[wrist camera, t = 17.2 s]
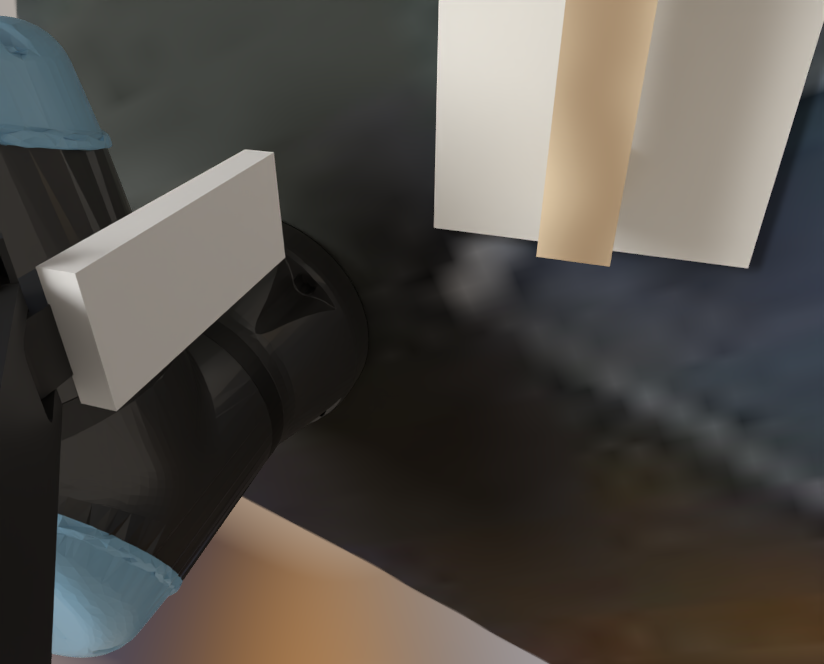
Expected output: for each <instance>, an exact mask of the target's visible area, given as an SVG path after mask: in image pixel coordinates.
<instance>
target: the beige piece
mask: <svg viewBox="0 0 824 664" xmlns="http://www.w3.org/2000/svg"><path fill="white" fill-rule="evenodd" d="M657 3H658V0H566V2H565V11H564V19H563V28H562V37H561V46H560V54H559V63H558V72H557V81H556V89H555V98H554V107H553V115H552V124H551V133H550V142H549V150H548V159H547V168H546V177H545V185H544V194H543V203H542V212H541V220H540V229H539V238H538V246H537V255H536V257H543V258H550V259H557V260H565V261H572V262H580V263H587V264H594V265H602V266H609V267H610V262H611V256H612V251H613V245H614V240H615V234H616V229H617V223H618V218H619V212H620V207H621V201H622V196H623V190H624V185H625V179H626V174H627V168H628V163H629V157H630V152H631V146H632V141H633V135H634V130H635V124H636V119H637V113H638V108H639V102H640V97H641V91H642V86H643V80H644V75H645V69H646V64H647V58H648V53H649V47H650V42H651V36H652V31H653V25H654V20H655V14H656V9H657Z"/></svg>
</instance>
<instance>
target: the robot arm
mask: <svg viewBox="0 0 824 664" xmlns="http://www.w3.org/2000/svg"><path fill="white" fill-rule="evenodd" d="M110 147H112V142H111V140H110V137H109V135H108V134H107V133H106V132H105V131H103V130H101V129H100V126H99V124H98V122H97V120H96V117H95V115H94V113H93V111H92V108H91V106H90V104H89V101H88V99H87V97H86V95H85V92H84V90H83V88H82V86H81V83H80V81H79V79H78V76H77V74H76V72H75V70H74V67H73V65H72V63H71V61H70V59H69V57H68V55H67V54H66V52H65V51H64V49H63V48H62V47H61V45H60V44H59V43H58V42H57V41H56V40H55V39H54V38H53V37H52V36H51V35H50V34H48V33H47V32H46V31H44V30H43V29H41V28H40V27H38V26H36V25H34V24H32V23H29V22H27V21H24V20H21V19H18V18H13V17H7V16H0V664H51V657H52V654H57V655H62V656H68V657H95V656H100V655H105V654H107V653H110V652H112V651H115V650H117V649H119V648H121V647H122V646H124V645H125V644H126V643H127V642H130V641H131V640H132V639H133V638H134V637H135V636H136V635H137V634H138V632H140V630H141V629H142V628H143V627H144V625H145V624H146V623H147V622H148V620H149V619H150V618H151V617H152V616H153V614H154V613H155V612H156V611H157V609H158V608H159V607H160V605H161V604H162V603H163V602H164V601H165V600H166V598H167V597H168V596H170V595H172V594H174V593H175V592H177V591H178V590H179V588H180V586H181V584H182V581H183V579H184V578H185V577H186V575H187V574H188V572H189V571H190V569H191V568H192V567H193V565H194V564H195V562H196V561H197V560H198V558H199V556H200V555H201V553H202V552H203V551H204V549H205V548H206V547H207V545H208V544H209V542H210V541H211V539H212V538H213V537H214V535H215V534H216V532H217V531H218V529H219V528H220V527H221V525H222V524H223V522H224V521H225V519H226V518H227V517H228V515H229V514H230V512H231V511H232V509H233V508H234V507H235V505H236V504H237V502H238V501H239V499H240V498H241V497H242V495H243V494H244V492H245V491H246V489H247V488H248V487H249V485H250V484H251V482H252V481H253V479H254V478H255V477H256V475H257V474H258V472H259V471H260V469H261V468H262V466H263V465H264V463H265V462H266V461H267V459H268V458H269V457H270V455H271V454H272V453H273V451H274V450H275V448H276V447H277V446H278V444H280V443H281V442H283V441H284V440H286V439H287V438H289V437H290V436H291V435H293V434H294V433H296V432H297V431H299V430H300V429H302V428H303V427H305V426H306V425H308V424H310V423H312V422H315V421H317V420H319V419H320V418H322V417H324V416H326V415H327V414H329V413H330V412H331V411H333V410H334V409H335V408H336V407H337V406H338V405H339V404H340V403H341V402H342V401H343V400H344V398H345V397H346V396H347V394H348V393H349V391H350V390H351V388H352V387H353V385H354V384H355V382H356V381H357V379H358V377H359V376H360V374H361V372H362V370H363V367H364V365H365V362H366V358H367V353H368V327H367V321H366V317H365V313H364V310H363V307H362V304H361V301H360V299H359V297H358V295H357V292H356V290H355V289H354V287H353V285H352V283H351V282H350V280H349V278H348V277H347V275H346V274H345V273H344V271H343V270H342V269H341V267H340V266H339V265H338V264H337V262H336V261H335V260H334V259H333V258H332V257H331V256H330V255H329V254H328V253H327V252H326V251H325V250H324V249H323V248H322V247H321V246H319V245H318V244H317V243H316V242H315V241H313V240H312V239H310V238H309V237H308V236H306V235H305V234H303V233H302V232H300V231H298V230H297V229H295V228H293V227H291V226H289V225H287V224H285V223H283V222H281V214H280V205H279V195H278V186H277V177H276V168H275V159H274V152H266V151H256V150H246V149H245V150H243V151H241V152H240V153H238V154H236V155H234V156H232V157H231V158H229V159H227V160H225V161H224V162H222V163H220V164H218V165H216V166H215V167H213V168H211V169H209V170H207V171H206V172H204V173H202V174H200V175H199V176H197V177H195V178H193V179H191V180H190V181H188V182H186V183H184V184H182V185H181V186H179V187H177V188H175V189H174V190H172V191H170V192H168V193H166V194H165V195H163V196H161V197H159V198H157V199H156V200H154V201H152V202H150V203H148V204H147V205H145V206H143V207H141V208H140V209H138V210H136V211H134V212H132V211H131V208H130V205H129V203H128V200H127V198H126V195H125V192H124V190H123V187H122V185H121V182H120V179H119V177H118V174H117V172H116V169H115V167H114V164H113V161H112V159H111V156H110V154H109V151H108V148H110Z"/></svg>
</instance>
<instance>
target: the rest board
mask: <svg viewBox="0 0 824 664" xmlns="http://www.w3.org/2000/svg"><path fill="white" fill-rule="evenodd" d="M565 2H566V0H439V19H438V63H437V108H436V152H435V197H434V228H439V229H447V230H455V231H463V232H470V233H478V234H486V235H494V236H501V237H509V238H517V239H525V240H532V241H538V238H539V229H540V220H541V212H542V203H543V194H544V185H545V177H546V168H547V159H548V150H549V142H550V133H551V124H552V115H553V107H554V98H555V89H556V81H557V72H558V63H559V54H560V46H561V37H562V28H563V19H564V11H565ZM823 22H824V0H658V3H657V9H656V14H655V20H654V25H653V31H652V36H651V42H650V47H649V53H648V58H647V64H646V69H645V75H644V80H643V86H642V91H641V97H640V102H639V108H638V113H637V119H636V124H635V130H634V135H633V141H632V146H631V152H630V157H629V163H628V168H627V174H626V179H625V185H624V190H623V196H622V201H621V207H620V212H619V218H618V223H617V229H616V234H615V240H614V245H613V251H617V252H625V253H633V254H641V255H648V256H656V257H664V258H672V259H679V260H687V261H695V262H703V263H710V264H718V265H726V266H733V267H741V268H748V267H749V263H750V260H751V257H752V254H753V250H754V247H755V244H756V241H757V237H758V234H759V231H760V227H761V224H762V221H763V218H764V214H765V211H766V208H767V205H768V201H769V198H770V195H771V192H772V188H773V185H774V182H775V179H776V175H777V172H778V169H779V166H780V162H781V159H782V156H783V152H784V149H785V146H786V143H787V139H788V136H789V133H790V130H791V126H792V123H793V120H794V117H795V113H796V110H797V107H798V104H799V100H800V97H801V94H802V90H803V87H804V84H805V81H806V77H807V74H808V71H809V68H810V64H811V61H812V58H813V55H814V51H815V48H816V45H817V42H818V38H819V35H820V32H821V29H822V25H823Z"/></svg>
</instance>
